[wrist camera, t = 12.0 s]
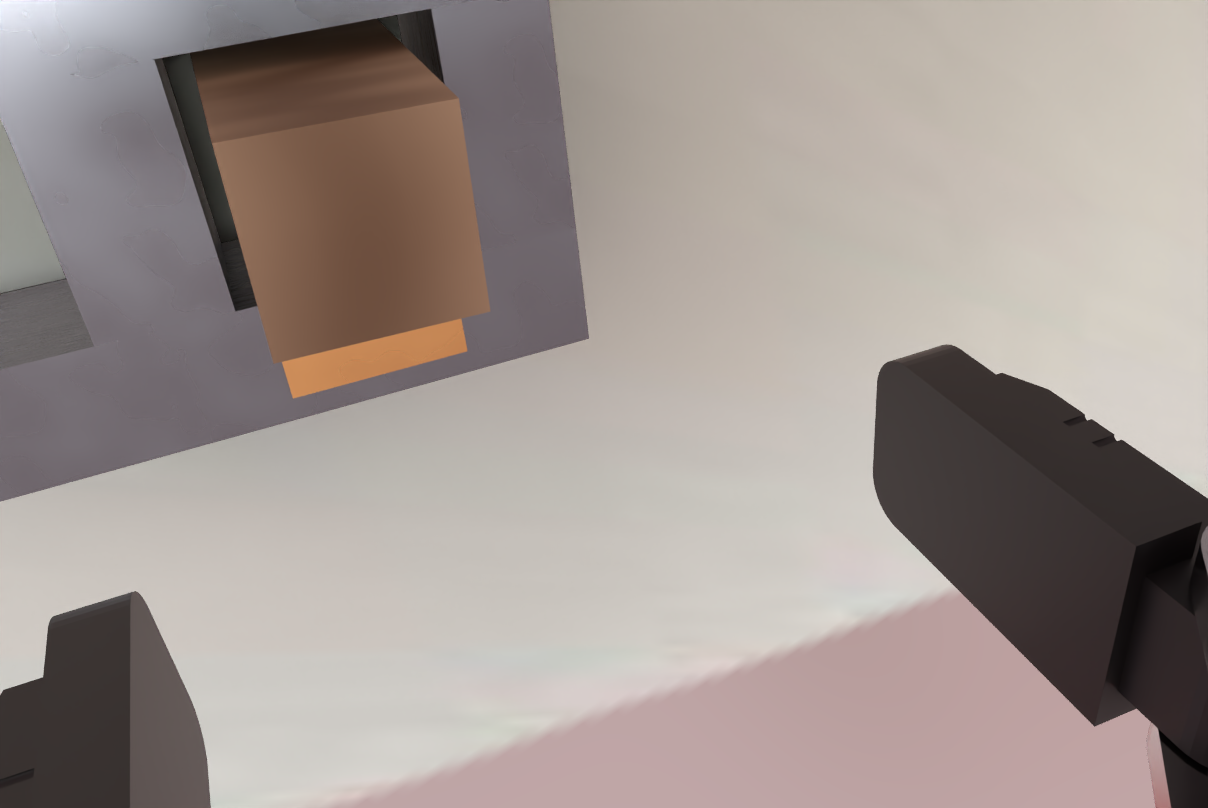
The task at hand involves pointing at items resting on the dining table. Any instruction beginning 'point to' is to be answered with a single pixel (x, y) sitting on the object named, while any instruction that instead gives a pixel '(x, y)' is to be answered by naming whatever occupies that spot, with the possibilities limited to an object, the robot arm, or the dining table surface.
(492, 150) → the grey socket board
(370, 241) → the walnut peg
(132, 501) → the dining table surface
